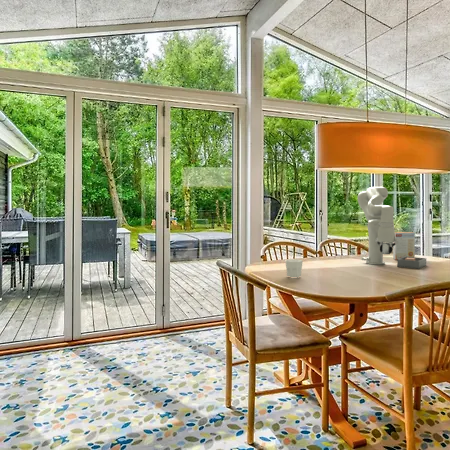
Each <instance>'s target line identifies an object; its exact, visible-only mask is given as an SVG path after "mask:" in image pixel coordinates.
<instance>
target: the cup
mask: <svg viewBox="0 0 450 450" xmlns="http://www.w3.org/2000/svg"><path fill="white" fill-rule="evenodd" d="M284 260H285V267H286V277H287V276H290V277H299V276H301V277H302V271H303V270H302V269H303V260H302V259H299V258H298V259H296V258H294V259H293V258H290V259H284Z"/></svg>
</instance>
